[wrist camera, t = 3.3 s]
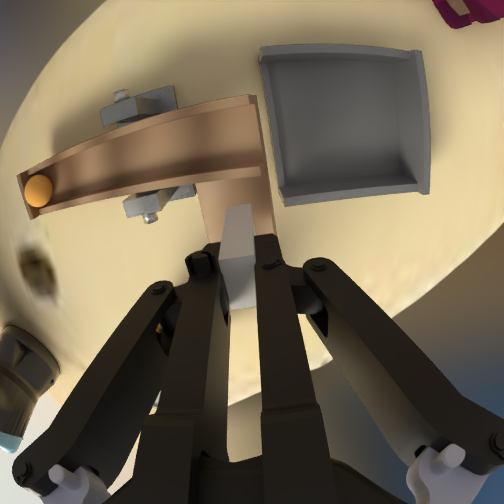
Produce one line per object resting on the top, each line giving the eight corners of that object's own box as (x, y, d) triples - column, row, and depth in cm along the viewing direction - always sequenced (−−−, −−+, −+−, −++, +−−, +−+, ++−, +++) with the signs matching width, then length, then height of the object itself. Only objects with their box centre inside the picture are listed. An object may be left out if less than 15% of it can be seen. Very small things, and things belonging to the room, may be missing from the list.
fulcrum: (140, 205, 27) (115, 232, 21) (116, 103, 22) (82, 104, 16) (195, 194, 27) (182, 219, 21) (173, 85, 21) (151, 78, 16)
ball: (45, 202, 23) (25, 214, 20) (36, 174, 21) (15, 185, 19) (62, 196, 22) (41, 209, 20) (53, 166, 21) (31, 177, 18)
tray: (278, 193, 27) (286, 210, 22) (258, 56, 20) (261, 44, 16) (404, 180, 26) (429, 194, 22) (394, 57, 20) (421, 51, 15)
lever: (69, 253, 27) (51, 269, 24) (39, 165, 22) (16, 175, 19) (277, 245, 21) (271, 270, 18) (256, 95, 16) (243, 93, 13)
